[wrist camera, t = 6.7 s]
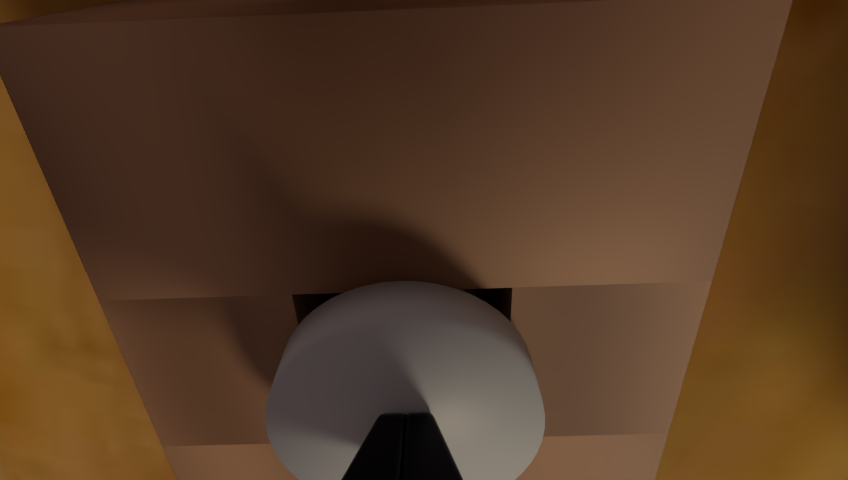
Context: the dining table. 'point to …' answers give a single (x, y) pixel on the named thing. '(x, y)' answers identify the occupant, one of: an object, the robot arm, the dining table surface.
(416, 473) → the robot arm
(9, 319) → the dining table surface
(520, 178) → the walnut block
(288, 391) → the grey peg
